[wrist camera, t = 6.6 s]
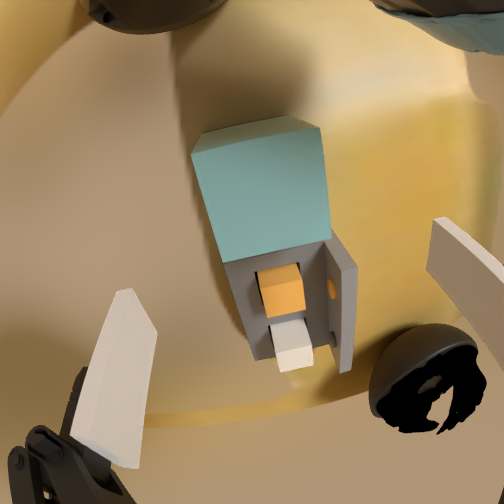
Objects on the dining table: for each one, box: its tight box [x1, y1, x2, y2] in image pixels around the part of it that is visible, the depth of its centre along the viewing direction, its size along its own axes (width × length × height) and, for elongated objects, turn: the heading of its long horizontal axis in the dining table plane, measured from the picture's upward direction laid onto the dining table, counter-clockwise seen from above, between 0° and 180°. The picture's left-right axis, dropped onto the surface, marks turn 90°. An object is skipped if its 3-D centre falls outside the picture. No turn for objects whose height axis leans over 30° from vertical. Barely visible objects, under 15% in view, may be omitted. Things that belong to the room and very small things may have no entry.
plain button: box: [270, 318, 313, 372], centre depth 33 cm, size 4×4×5 cm
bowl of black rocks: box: [369, 323, 487, 435], centre depth 35 cm, size 20×20×19 cm
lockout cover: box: [191, 115, 332, 263], centre depth 22 cm, size 8×8×9 cm
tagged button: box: [257, 263, 306, 318], centre depth 30 cm, size 4×4×5 cm
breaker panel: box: [223, 228, 358, 373], centre depth 31 cm, size 16×12×8 cm
